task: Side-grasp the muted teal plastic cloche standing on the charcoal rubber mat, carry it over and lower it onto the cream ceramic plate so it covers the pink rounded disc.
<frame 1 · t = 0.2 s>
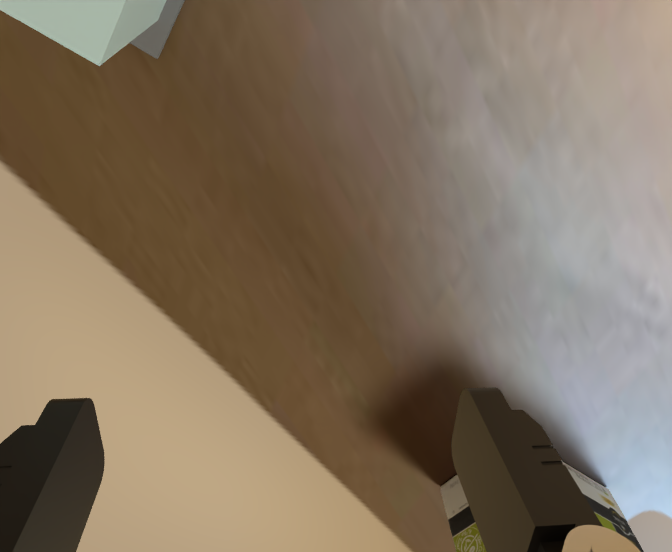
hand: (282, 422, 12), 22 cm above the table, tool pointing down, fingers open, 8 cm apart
tea box: (524, 485, 52), on the table
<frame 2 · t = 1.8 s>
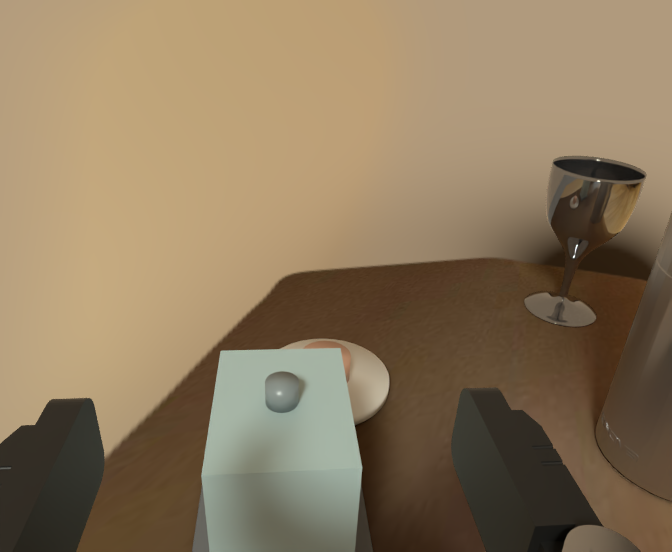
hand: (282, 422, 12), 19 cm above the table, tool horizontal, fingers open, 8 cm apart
wine glass: (559, 309, 56), on the table
plate: (324, 383, 43), on the table
pink rounded disc: (324, 375, 43), point 1 cm above the table, touching plate
mat: (283, 542, 31), on the table
cloche: (283, 537, 30), resting on mat
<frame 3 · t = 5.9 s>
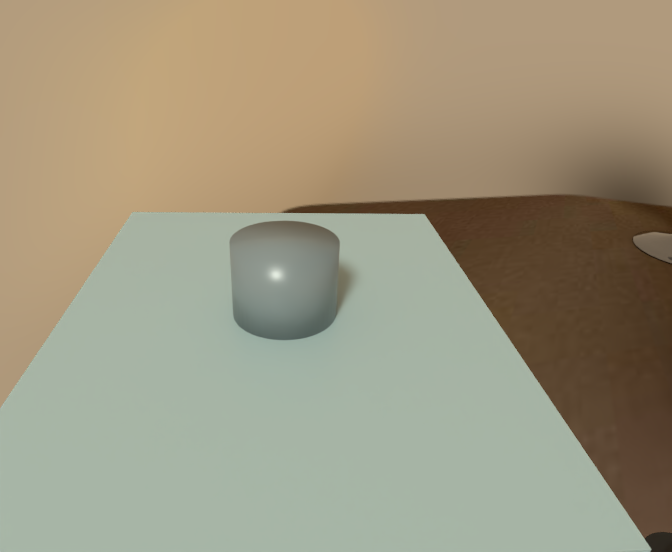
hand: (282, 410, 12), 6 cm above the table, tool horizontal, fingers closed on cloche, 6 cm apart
when the fingers open (8 cm above the table, at t = 11.7 s): cloche drops 1 cm, resting on plate.
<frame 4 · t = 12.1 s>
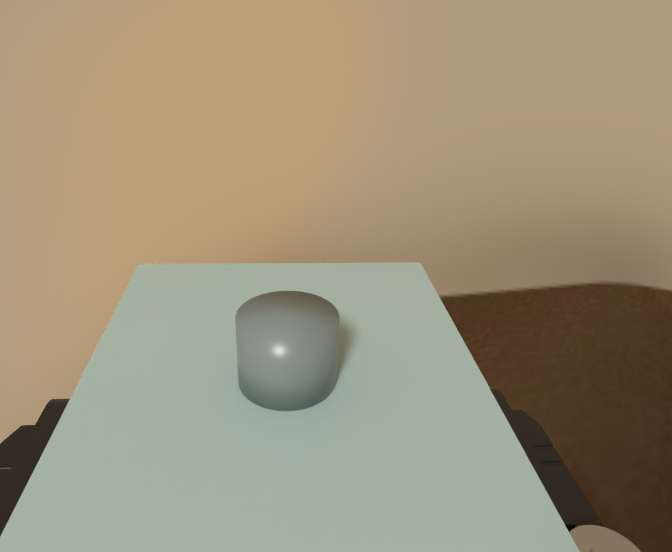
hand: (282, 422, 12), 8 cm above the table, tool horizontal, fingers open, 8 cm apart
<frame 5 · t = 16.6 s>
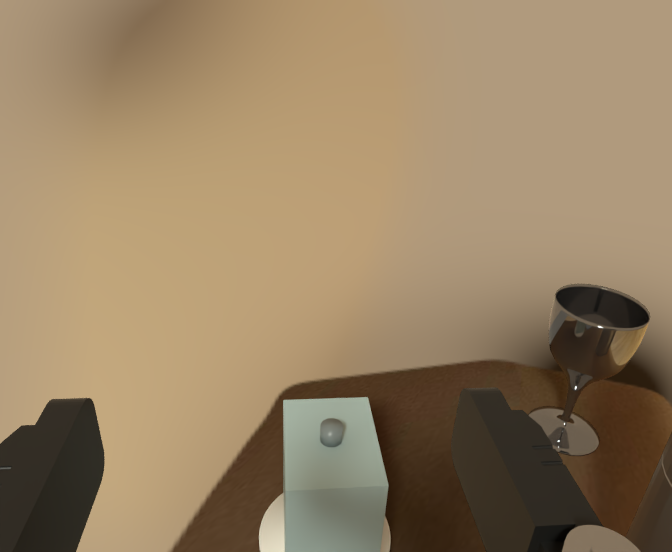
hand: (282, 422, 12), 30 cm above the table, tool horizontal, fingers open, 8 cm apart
wine glass: (561, 431, 55), on the table
plate: (324, 539, 43), on the table
cloche: (326, 533, 42), point 1 cm above the table, touching plate
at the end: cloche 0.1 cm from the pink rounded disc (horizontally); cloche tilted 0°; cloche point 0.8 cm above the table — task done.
